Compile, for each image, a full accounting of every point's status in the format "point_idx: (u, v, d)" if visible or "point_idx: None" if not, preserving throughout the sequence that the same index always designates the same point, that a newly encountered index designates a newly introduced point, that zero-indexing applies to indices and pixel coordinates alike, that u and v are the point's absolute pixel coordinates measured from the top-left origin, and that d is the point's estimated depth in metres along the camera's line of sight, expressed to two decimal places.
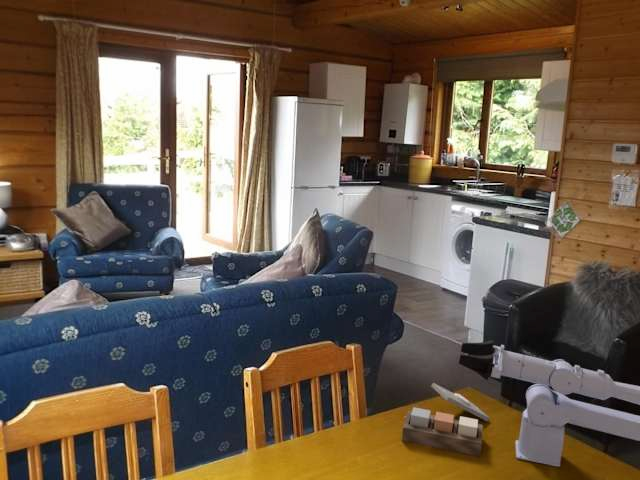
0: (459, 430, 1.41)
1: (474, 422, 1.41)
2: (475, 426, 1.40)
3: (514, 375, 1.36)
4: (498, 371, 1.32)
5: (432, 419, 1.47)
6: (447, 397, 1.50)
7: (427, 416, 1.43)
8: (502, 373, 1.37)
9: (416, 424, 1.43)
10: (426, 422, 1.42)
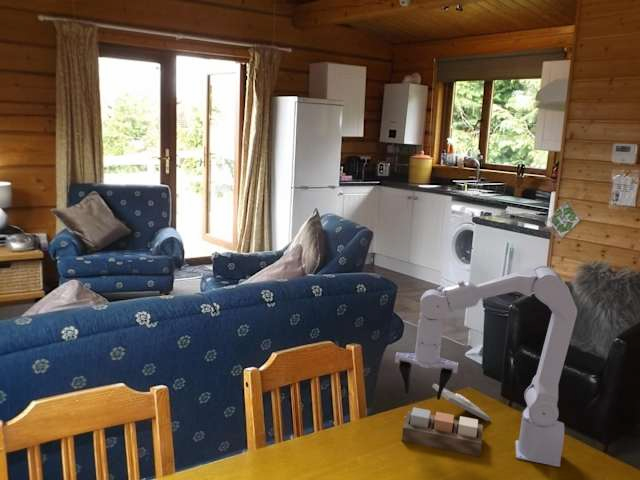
0: (459, 430, 1.41)
1: (474, 422, 1.41)
2: (475, 426, 1.40)
3: None
4: (457, 367, 1.40)
5: (432, 419, 1.47)
6: (448, 397, 1.50)
7: (427, 416, 1.43)
8: None
9: (416, 424, 1.43)
10: (426, 422, 1.42)
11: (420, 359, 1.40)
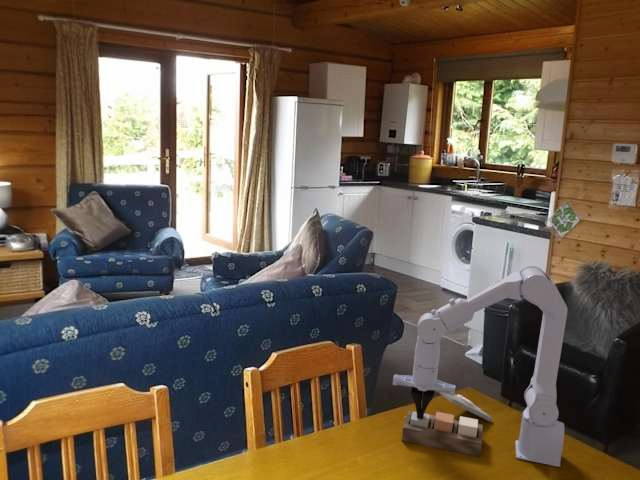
0: (459, 430, 1.41)
1: (474, 422, 1.41)
2: (475, 426, 1.40)
3: None
4: (454, 390, 1.41)
5: (432, 419, 1.47)
6: (452, 399, 1.49)
7: (426, 420, 1.43)
8: None
9: None
10: (426, 426, 1.43)
11: (417, 382, 1.41)
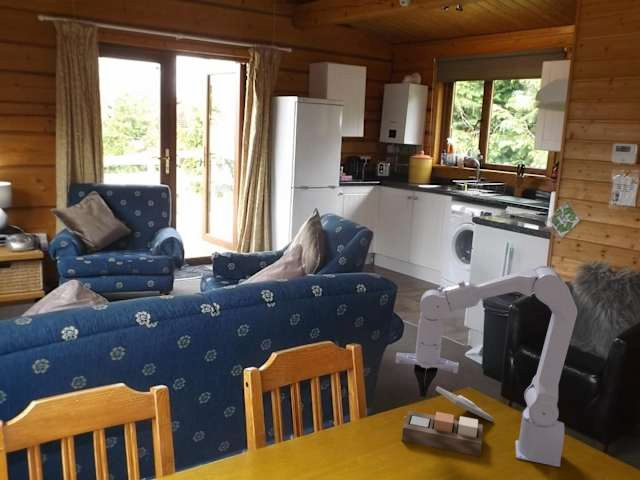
0: (459, 430, 1.41)
1: (474, 422, 1.41)
2: (475, 426, 1.40)
3: None
4: None
5: (432, 419, 1.47)
6: (455, 400, 1.48)
7: (426, 425, 1.43)
8: None
9: None
10: None
11: (420, 359, 1.40)
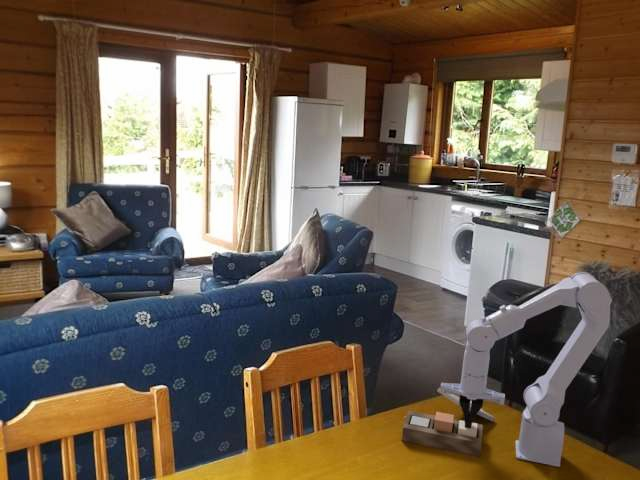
0: None
1: (474, 426, 1.42)
2: (474, 430, 1.40)
3: None
4: (504, 399, 1.38)
5: (432, 419, 1.47)
6: (458, 402, 1.48)
7: (426, 425, 1.43)
8: None
9: None
10: None
11: (466, 391, 1.38)
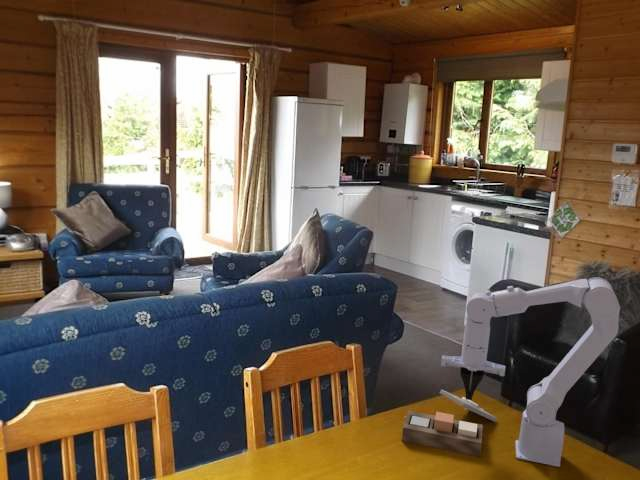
0: None
1: (474, 427, 1.42)
2: (474, 431, 1.40)
3: None
4: (504, 370, 1.40)
5: (432, 419, 1.47)
6: (462, 403, 1.47)
7: (426, 425, 1.43)
8: None
9: None
10: None
11: (467, 362, 1.40)
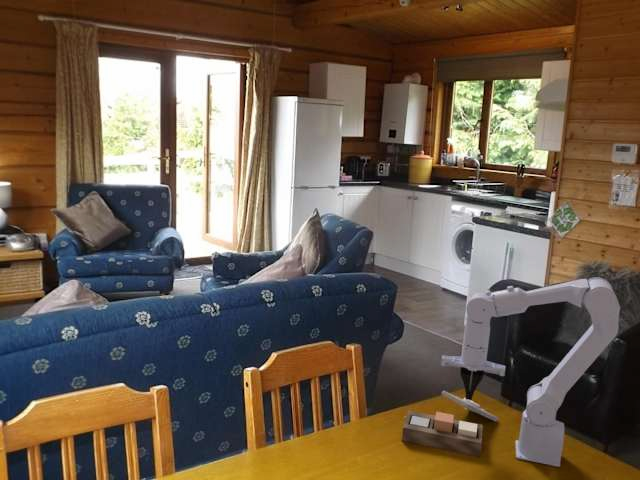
0: None
1: (474, 427, 1.42)
2: (474, 431, 1.40)
3: None
4: (504, 370, 1.40)
5: (432, 419, 1.47)
6: (465, 404, 1.47)
7: (426, 425, 1.43)
8: None
9: None
10: None
11: (467, 362, 1.40)
